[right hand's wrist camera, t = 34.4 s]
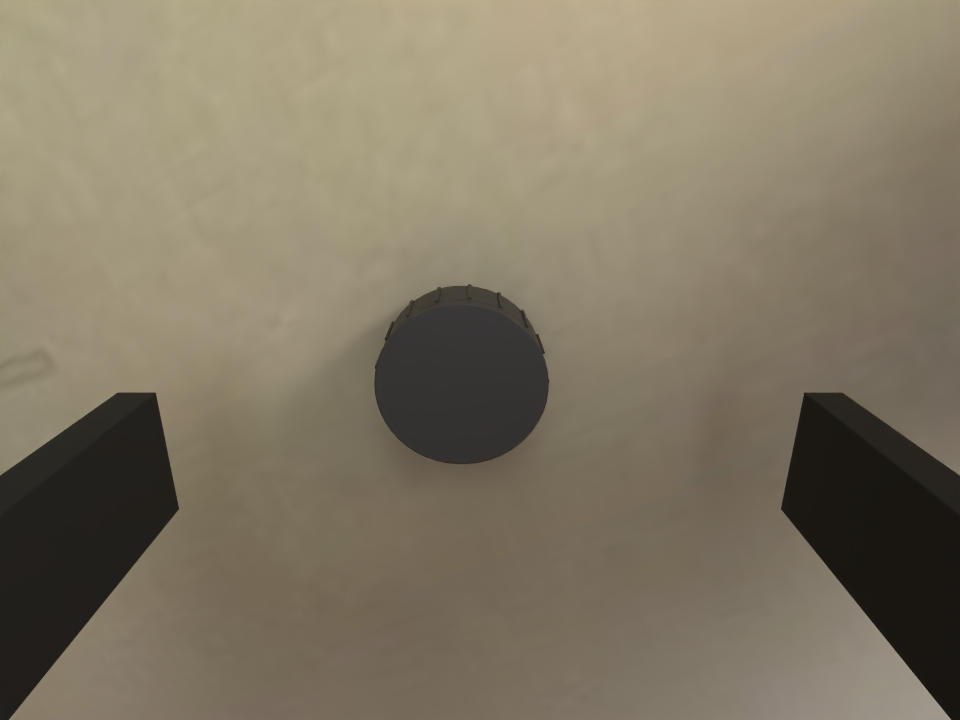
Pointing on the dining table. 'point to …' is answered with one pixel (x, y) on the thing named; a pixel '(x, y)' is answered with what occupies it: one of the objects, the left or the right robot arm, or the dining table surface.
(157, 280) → the dining table surface
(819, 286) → the dining table surface
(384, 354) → the cap
